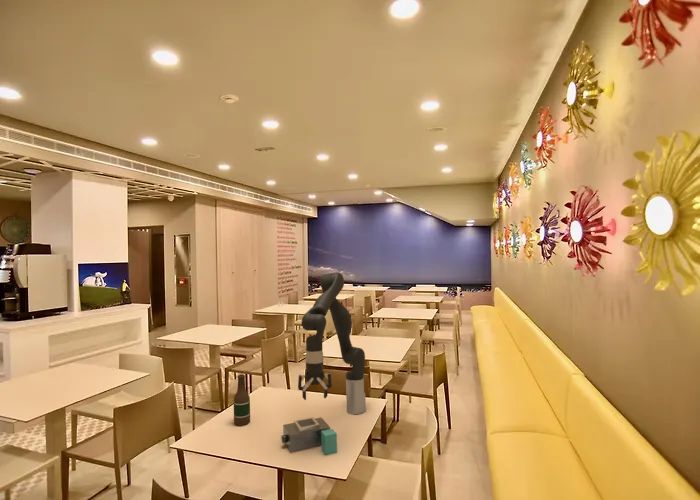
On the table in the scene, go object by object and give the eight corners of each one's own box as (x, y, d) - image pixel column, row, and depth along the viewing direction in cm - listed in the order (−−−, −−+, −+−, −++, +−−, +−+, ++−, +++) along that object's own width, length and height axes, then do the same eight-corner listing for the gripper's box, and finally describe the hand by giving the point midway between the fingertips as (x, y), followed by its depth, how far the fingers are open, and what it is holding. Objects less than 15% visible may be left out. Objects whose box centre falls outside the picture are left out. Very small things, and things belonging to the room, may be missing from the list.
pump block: (332, 447, 168) (332, 428, 168) (337, 452, 163) (336, 433, 163) (321, 450, 166) (321, 431, 166) (325, 455, 161) (325, 435, 161)
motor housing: (321, 432, 182) (321, 414, 182) (330, 443, 171) (330, 424, 171) (279, 441, 174) (278, 422, 174) (285, 453, 163) (285, 433, 163)
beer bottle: (241, 428, 188) (240, 378, 189) (230, 425, 193) (229, 375, 193) (253, 422, 195) (252, 373, 196) (242, 419, 199) (241, 371, 200)
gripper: (329, 357, 174) (330, 394, 174) (297, 359, 172) (297, 397, 171) (332, 361, 167) (332, 400, 166) (298, 363, 164) (298, 403, 164)
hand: (314, 398), depth 169 cm, fingers open, 8 cm apart
